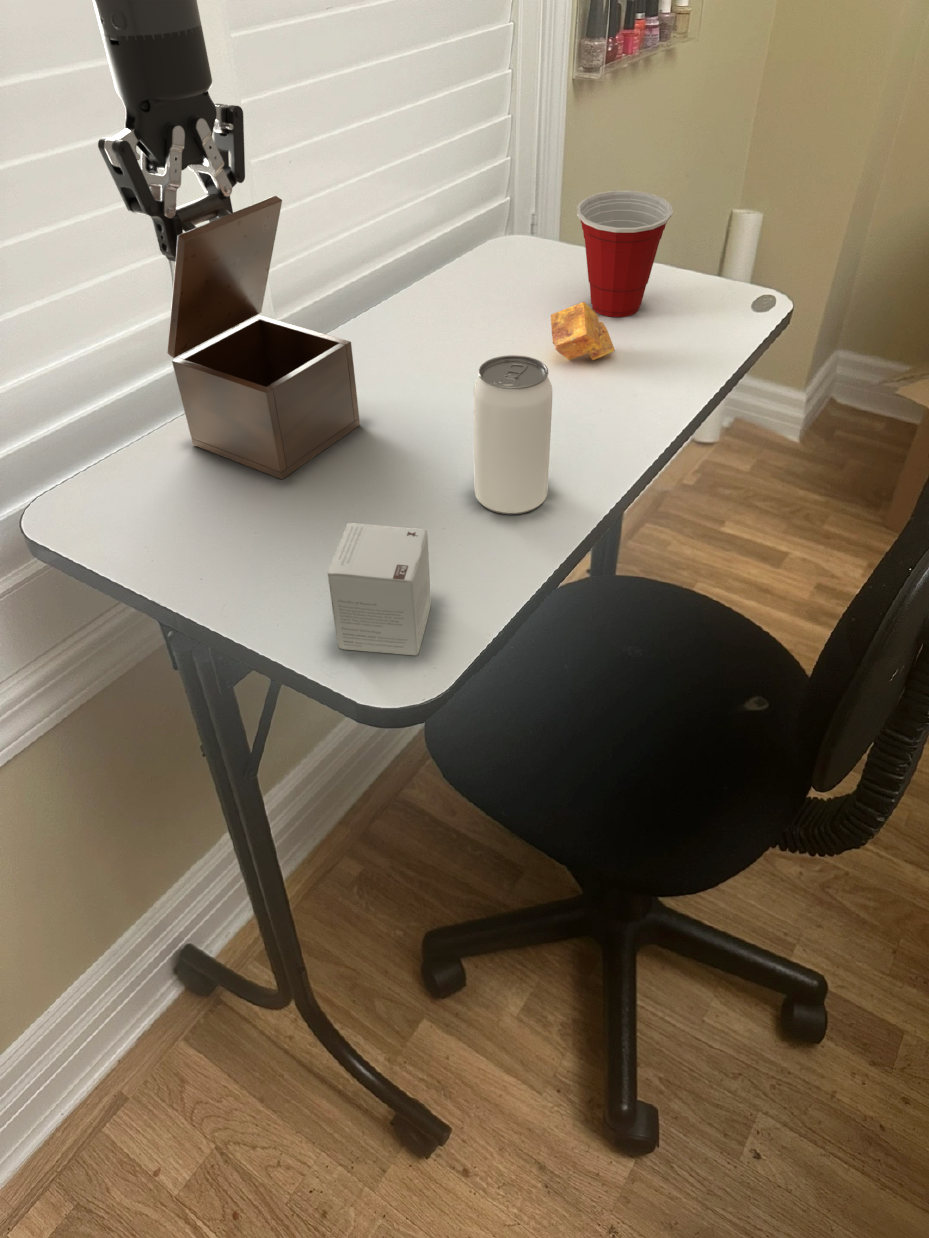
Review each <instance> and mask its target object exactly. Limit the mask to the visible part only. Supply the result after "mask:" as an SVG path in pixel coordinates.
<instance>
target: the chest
mask: <svg viewBox="0 0 929 1238" xmlns="http://www.w3.org/2000/svg"><path fill="white" fill-rule="evenodd" d="M171 363H172V367H173V371H174V375H175V379H176V383H177V387H178V391H179V395H180V399H181V402H182V403H181V404H182V408H183V411H184V416H185V419H186V423H187V427H188V430H189V435H190V439H191V443H192V445H193V446H194V447H196V448H199V449H202V450H204V451H207V452H210V453H212V454H215V455H218V456H220V457H223V458H225V459H228V460H231V461H232V462H233V461H234V462H236V463H239V464H241V465H243V466H246V467H248V468H251V469H254V470H257V471H259V472H261V473H264V474H266V475H269V476H272V477H275V478H277V479H280V480H284V479H285V478H287V477H288V476H289V475H291V474H292V473H294V472H295V471H297V470H298V469H299V468H302V466H304V465H305V464H307V463H308V462H309V461H311V460H313V459H314V458H315V457H317V456H318V455H319V454H321V453H323V452H324V451H326V450H327V449H328V448H330V447H331V446H333V445H334V444H335V443H337V442H338V441H340V440H341V439H342V438H344V437H345V436H347V435H348V434H349V433H351V432H352V431H354V430H355V429H357V428H358V427H360V426H361V420H360V411H359V401H358V394H357V385H356V383H357V382H356V374H355V366H354V356H353V347H352V341H350V340H346V339H343V338H339V337H336V336H332V335H330V334H325V333H322V332H318V331H315V330H312V329H309V328H305V327H301V326H298V325H294V324H291V323H288V322H285V321H281V320H278V319H274V318H270V317H267V316H264V315H260V314H258V315H256V316H254V317H252V318H250V319H248V320H246V321H244V322H242V323H241V324H239V325H237V326H235V327H233V328H231V329H229V330H227V331H225V332H223V333H221V334H219V335H218V336H216V337H214V338H212V339H210V340H208V341H206V342H204V343H202V344H200V345H198V346H196V347H195V348H193V349H191V350H189V351H187V352H185V353H183V354H181V355H179V356H178V357H176V358H174V359H173V360H172V361H171Z"/></svg>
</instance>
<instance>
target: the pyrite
mask: <svg viewBox="0 0 929 1238" xmlns="http://www.w3.org/2000/svg"><path fill="white" fill-rule="evenodd" d="M550 326H551V336H552V337H551V338H552V339H551V340H552V344H553V346H554V349H555V351H557V352H558V353H559V354H560V355H562V356H563V357H564V358H565V359H567V360H568V361H570V360H573V359H577V358H579V357H582V356H585V355H589V357H590V359H591V361H595V360H597V359H600V358H602V357H603V356H604V357H605V356H606V355H609V354H611V353H613V352H615V351H616V349H615V346H614V343H613V342H612V339H611V336H610V333H609V331H608V328H607V327H606V325H605V323H604V322H603V320H601V321H600V317H599V315H598V313H596V312H595V311H594V310H593V309H592V307H590V306H589V305H588V304H587V303H586V302H585V301H582V302H580V303H577V304H574V305H572V306H569V307H566V308H564V309H562V310H559V311H556V312H554V313H552V314H550Z"/></svg>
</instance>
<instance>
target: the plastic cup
mask: <svg viewBox="0 0 929 1238" xmlns="http://www.w3.org/2000/svg"><path fill="white" fill-rule="evenodd" d="M673 214H674V211H673V204H671V203H670V202H669V201H668V200H667V199H665V198H664V197H662V196H659V195H657V194H653V193H651V192H646V191H639V190H635V189H633V190H632V189H627V190H626V189H625V190H623V189H622V190H621V189H619V190H618V189H617V190H615V189H614V190H609V191H602V192H596V193H594V194H592V195H590V196H587V197H585V198H583V199H582V200H581V201H580V202H579V203H578V204H577V205H576V215H577V218H578V219H579V221H580V224H581V229H582V231H583V233H582V234H583V239H584V244H585V245H584V247H585V256H586V257H585V258H586V268H587V276H588V277H587V279H588V283H589V292H590V293H589V295H590V304H591V309H592V310H593V311H594V312H595V313H596V314H599V315H601V316H605V317H610V318H623V317H630V316H632V315H634V314H637V312H638V311H639V310H640V306H642V303H643V299H644V295H645V292H646V287H647V285H648V283H649V280H650V276H651V274H652V269H653V265H654V262H655V259H656V256H657V252H658V249H659V245H660V241H661V239H662V237H663V234H664V231H665V229H666V225H667V224H668V221H669V220H670V219H671V218H672V216H673Z"/></svg>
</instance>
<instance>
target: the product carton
mask: <svg viewBox="0 0 929 1238" xmlns="http://www.w3.org/2000/svg"><path fill="white" fill-rule="evenodd" d="M430 573H431V572H430V554H429V538H428V530H427V529H426V528H414V527H402V526H401V527H399V526H389V525H378V524H369V523H368V524H367V523H353V522H348V523H347V524H346V526H345V529H344V531H343V533H342V536H341V539H340V541H339V544H338V546H337V548H336V551H335V553H334V555H333V558H332V560H331V563H330V566H329V568H328V570H327V578H328V585H329V593H330V601H331V607H332V616H333V622H334V628H335V629H334V630H335V636H336V642H337V647H338V648H339V649H341V650H347V651H348V650H349V651H357V652H358V651H359V652H370V653H383V654H394V655H404V656H405V655H406V656H418V655H419V653H420V649H421V645H422V642H423V638H424V634H425V630H426V626H427V623H428V619H429V615H430V609H431V606H432V605H431V604H432V591H431V574H430Z"/></svg>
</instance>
